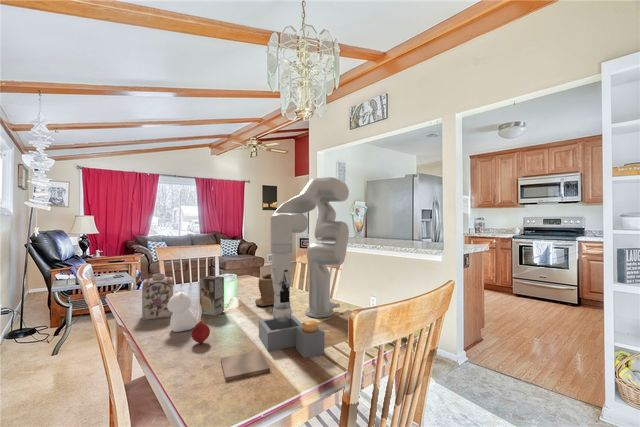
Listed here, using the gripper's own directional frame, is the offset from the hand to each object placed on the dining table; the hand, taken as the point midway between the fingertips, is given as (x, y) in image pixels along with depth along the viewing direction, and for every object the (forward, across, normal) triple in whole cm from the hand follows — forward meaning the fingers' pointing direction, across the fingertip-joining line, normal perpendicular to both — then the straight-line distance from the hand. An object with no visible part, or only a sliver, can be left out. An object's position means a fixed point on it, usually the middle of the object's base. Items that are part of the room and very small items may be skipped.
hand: (281, 299), depth 105 cm
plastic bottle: (+8, 0, 0) cm, 8 cm away
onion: (+14, -9, -26) cm, 31 cm away
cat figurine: (+14, -26, -32) cm, 43 cm away
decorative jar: (+15, -49, -42) cm, 66 cm away
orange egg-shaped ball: (+11, +12, +6) cm, 18 cm away
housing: (+14, +5, +1) cm, 15 cm away
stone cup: (+15, -44, +8) cm, 47 cm away
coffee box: (+15, -42, -20) cm, 49 cm away
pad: (+14, +13, -16) cm, 25 cm away
